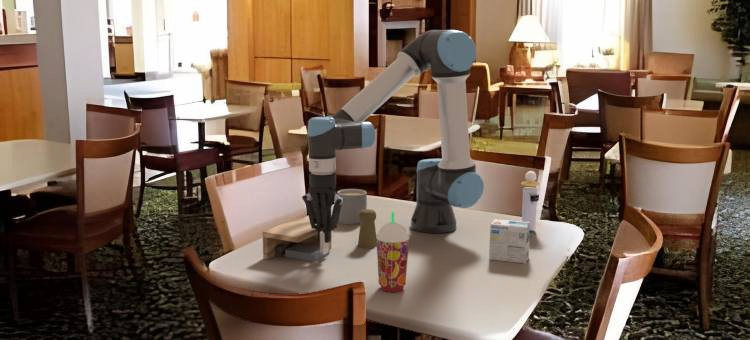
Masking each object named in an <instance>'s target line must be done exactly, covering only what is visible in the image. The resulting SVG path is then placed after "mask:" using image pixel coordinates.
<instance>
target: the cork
mask: <svg viewBox="0 0 750 340" xmlns="http://www.w3.org/2000/svg"><path fill="white" fill-rule="evenodd" d="M359 218H360V220H361V224H359V225H360V227H359V233H358V241H357V247H359V248H363V249H364V248H365V249H371V248H375V247H376V248H377V241H376V236H377V231H376V224H375V223H376V222H375V221H376V218H377V213H376V211H375V210H373V209H369V208H367V209H365V210H362V211H360V214H359Z"/></svg>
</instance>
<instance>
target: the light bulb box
mask: <svg viewBox="0 0 750 340" xmlns="http://www.w3.org/2000/svg"><path fill="white" fill-rule="evenodd" d="M489 227H490V228H489V255H488V256H489V258H488V260H490V261H491V260H492V261H500V262H510V263H519V264H526V263H527V261H528V260H529V256H530V238H531V237H530V236H531V235H530V234H531V233H530V232H531V231H530V222H523V221H522V220H509V219H508V220H507V219H497V218H494V219H493V221H492V222H491V223H490V226H489Z"/></svg>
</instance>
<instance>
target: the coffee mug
mask: <svg viewBox="0 0 750 340" xmlns="http://www.w3.org/2000/svg"><path fill="white" fill-rule="evenodd" d="M367 193H368V192H367V191H366V190H364V189H359V188H358V189H357V188H347V189H346V188H345V189H340V190H337V195H338V196H340V197H341V198H342V197H343V198H344V199H345V200H344V202H343V204H342V205H341V210H340V215H339V219H338V223H341V224H343V225H344V224H345V225H361V220H360V218H359V214H360V211H362V210H365V209H368V208H367V206H368V204H367V201H368V200H367V199H368V198H367V195H368V194H367Z"/></svg>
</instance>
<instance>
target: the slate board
mask: <svg viewBox="0 0 750 340" xmlns="http://www.w3.org/2000/svg"><path fill="white" fill-rule="evenodd" d="M328 255H330V251H329V252H328V253H326V254H321V253H320V246H318V245H312V244H306V243H298V244H296V245H294V246H292V247H290V248H288V249H286V250H285V255H284V257H286V258H292V259H297V260H304V261H308V262H317V261H319V260H321V259H323V258H324V257H327V256H328Z"/></svg>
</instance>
